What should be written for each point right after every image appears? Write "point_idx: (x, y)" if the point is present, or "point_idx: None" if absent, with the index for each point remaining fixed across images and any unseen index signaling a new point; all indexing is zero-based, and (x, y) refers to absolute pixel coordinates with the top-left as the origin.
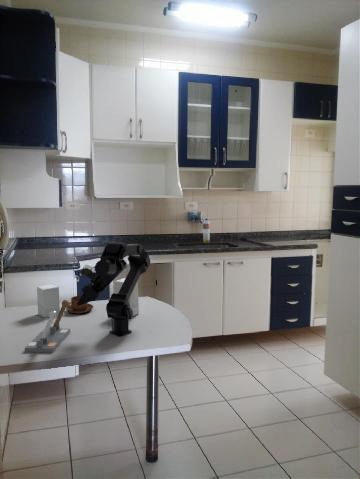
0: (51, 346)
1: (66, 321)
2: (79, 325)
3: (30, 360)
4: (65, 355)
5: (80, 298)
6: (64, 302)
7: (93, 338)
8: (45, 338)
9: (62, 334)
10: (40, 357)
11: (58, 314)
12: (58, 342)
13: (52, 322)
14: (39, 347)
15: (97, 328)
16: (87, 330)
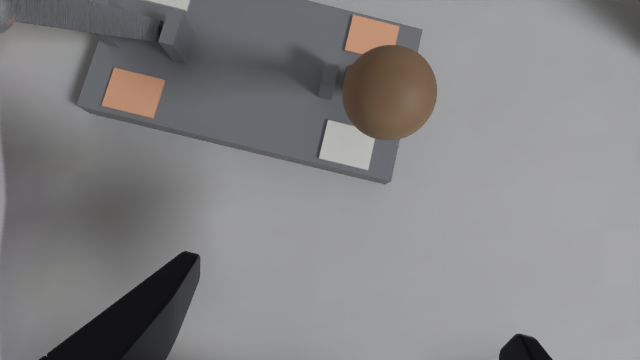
0: (106, 93)
1: (577, 147)
2: (499, 233)
3: None
4: (33, 182)
5: (64, 344)
6: (354, 75)
7: (260, 335)
8: (156, 41)
9: (295, 140)
10: (42, 54)
11: (349, 67)
12: (168, 127)
13: (70, 29)
14: None
15: (432, 355)
16: (404, 289)
